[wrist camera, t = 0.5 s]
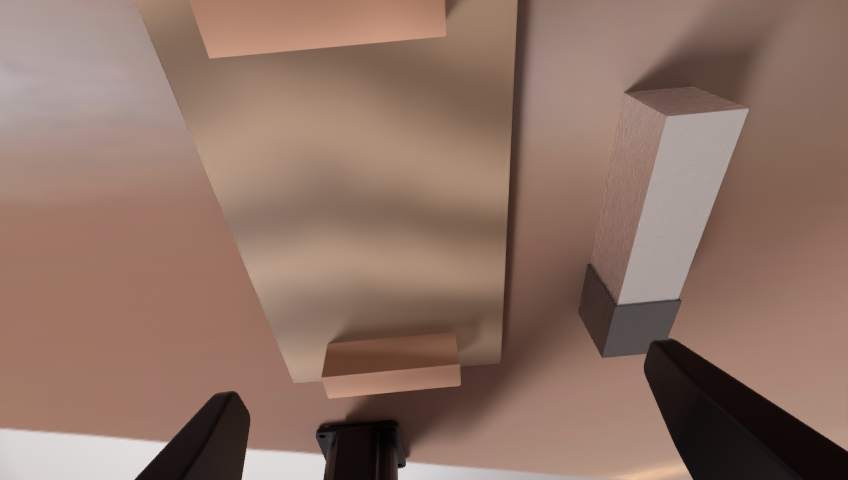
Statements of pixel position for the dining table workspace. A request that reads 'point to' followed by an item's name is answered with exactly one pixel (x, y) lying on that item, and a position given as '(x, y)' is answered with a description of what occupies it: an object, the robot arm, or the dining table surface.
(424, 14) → the lock cradle
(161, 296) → the dining table surface
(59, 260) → the dining table surface
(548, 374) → the dining table surface
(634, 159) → the two-tone gray brick
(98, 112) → the dining table surface
